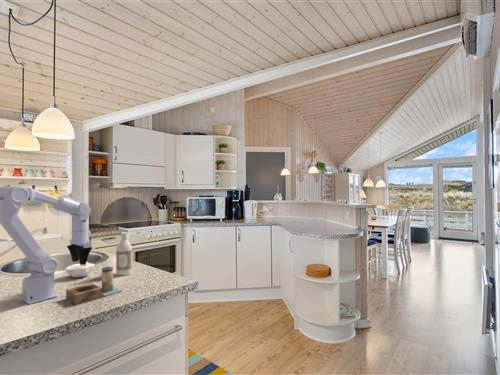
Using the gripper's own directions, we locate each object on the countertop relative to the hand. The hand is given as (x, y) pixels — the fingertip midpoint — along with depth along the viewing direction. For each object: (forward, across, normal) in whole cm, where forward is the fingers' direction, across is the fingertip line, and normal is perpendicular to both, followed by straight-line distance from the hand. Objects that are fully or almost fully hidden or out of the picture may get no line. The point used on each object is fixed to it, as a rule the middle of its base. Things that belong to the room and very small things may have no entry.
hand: (79, 262), depth 122 cm
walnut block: (+10, -16, +4) cm, 19 cm away
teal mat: (+10, -16, -4) cm, 19 cm away
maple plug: (+9, -16, -4) cm, 19 cm away
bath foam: (+10, +2, -21) cm, 23 cm away
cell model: (+10, +14, -6) cm, 18 cm away
